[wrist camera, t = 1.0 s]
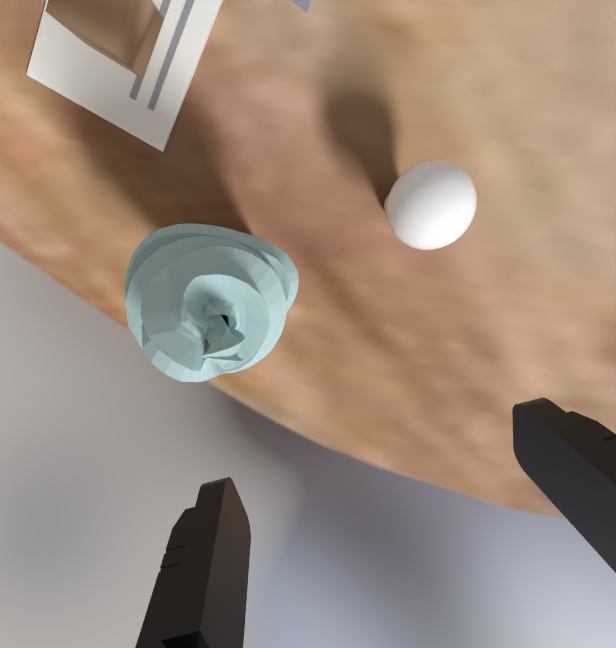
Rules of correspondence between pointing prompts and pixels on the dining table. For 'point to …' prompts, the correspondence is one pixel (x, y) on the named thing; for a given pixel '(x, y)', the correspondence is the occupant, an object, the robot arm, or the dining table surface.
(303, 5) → the cube
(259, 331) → the ice cream cone
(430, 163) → the lightbulb
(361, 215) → the dining table surface
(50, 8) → the walnut block
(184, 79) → the letter
